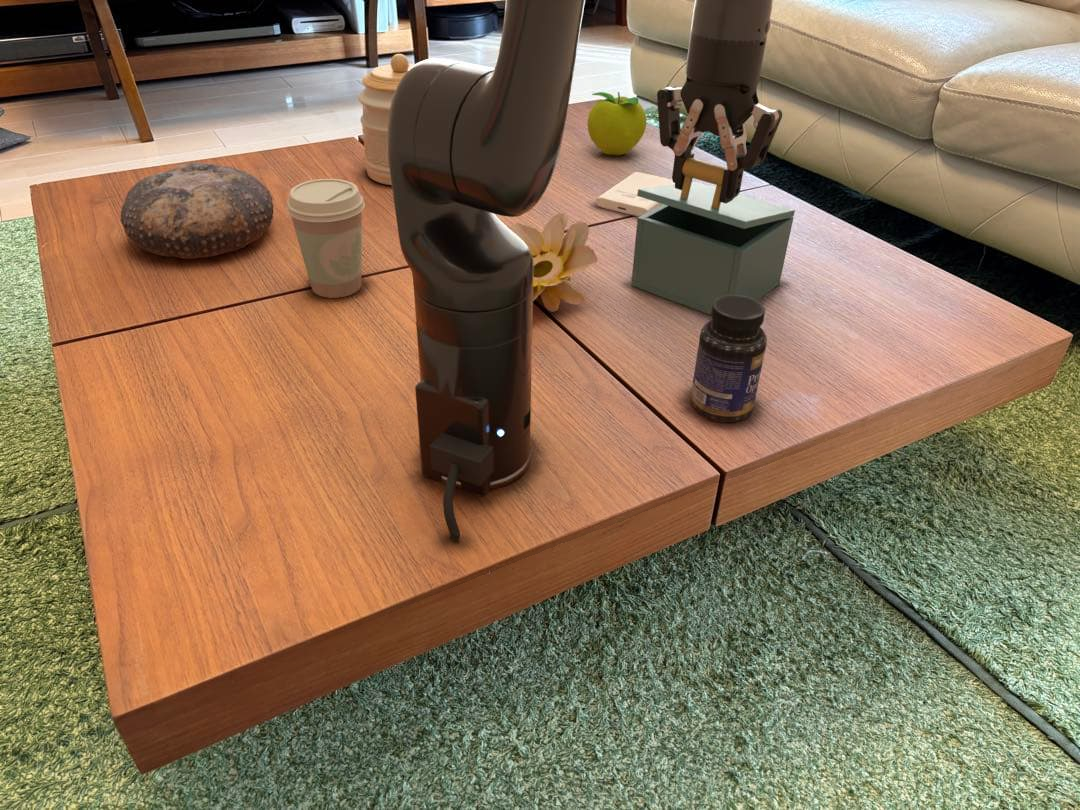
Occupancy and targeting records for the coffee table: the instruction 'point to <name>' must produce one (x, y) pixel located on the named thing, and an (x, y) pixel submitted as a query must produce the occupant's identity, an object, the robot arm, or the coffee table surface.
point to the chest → (706, 257)
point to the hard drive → (632, 194)
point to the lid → (714, 198)
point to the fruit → (616, 123)
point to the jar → (379, 114)
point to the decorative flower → (557, 258)
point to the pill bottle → (729, 359)
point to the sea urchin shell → (196, 211)
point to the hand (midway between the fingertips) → (704, 193)
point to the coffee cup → (329, 234)
